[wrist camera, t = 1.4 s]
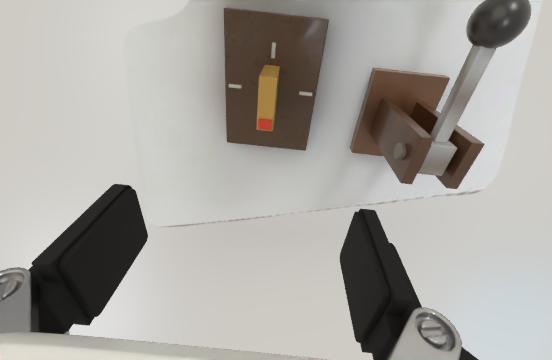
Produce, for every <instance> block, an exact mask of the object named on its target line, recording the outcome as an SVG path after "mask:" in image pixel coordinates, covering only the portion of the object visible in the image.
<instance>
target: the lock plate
mask: <svg viewBox="0 0 552 360" xmlns="http://www.w3.org/2000/svg"><path fill="white" fill-rule="evenodd" d="M328 21H329V20H328V19H322V18H313V17H304V16H295V15H286V14H277V13H268V12H258V11H249V10H240V9H231V8H224V36H225V81H226V126H227V142H230V143H239V144H249V145H258V146H268V147H277V148H286V149H296V150H306V146H307V140H308V134H309V129H310V123H311V117H312V112H313V106H314V100H315V95H316V89H317V83H318V78H319V72H320V66H321V61H322V55H323V49H324V44H325V38H326V33H327V27H328ZM265 65H273V66H280V72H279V82H278V93H277V104H276V114H275V120H274V126H273V131H263V130H257V129H256V128H257V108H258V88H259V76H260V74H261V72H262V70H263V68H264V66H265Z"/></svg>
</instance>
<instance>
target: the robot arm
mask: <svg viewBox="0 0 552 360" xmlns="http://www.w3.org/2000/svg"><path fill="white" fill-rule="evenodd" d="M147 238H148V234H147V230H146V227H145V223H144V219H143V216H142V212H141V208H140V205H139V201H138V198H137V194H136V191H135V190H134V189H132V187H131V186H129V185H121V184H114V185H112V186H111V187H110V188H109V189H108V190H107V191H106V192H105V193H104V194H103V195H102V196H101V197H100V198H99V199H98V200H96V201H95V202H94V203H93V204H92V205H91V206H90V207H89V208H88V209H87V210H86V211H85V212H84V213H83V214H82V215H81V216H80V217H79V218H78V219H77V220H76V221H75V222H74V223H73V224H72V225H70V226H69V227H68V228H67V229H66V230H65V231H64V232H63V233H62V234H61V235H60V236H59V237H58V238H57V239H56V240H55V241H54V242H53V243H52V244H51V245H50V246H49V247H47V249H46V250H44V251H43V252H42V253H41V254H40V255H39V256H38V257H37V258H36V259H35V260H34V261H33V262H32V265H33V266H32V267H31V268H30V269H29V270H27V269H25V268H19V267H18V268H9V269H6V270H2V271H0V360H324V359H317V358H308V357H298V356H288V355H279V354H268V353H259V352H249V351H238V350H229V349H219V348H208V347H198V346H188V345H178V344H167V343H157V342H146V341H134V340H123V339H113V338H103V337H92V336H79V335H69V329H70V328H71V326H72V325H73V324H79V325H90V323H91V322H92V320H93V319H94V317H97V316H98V315H100V313H101V312H102V311H103V309H104V308H105V306H106V304H107V302H108V301H109V300H110V298H111V296H112V295H113V293H114V292H115V290H116V289H117V287H118V286H119V284H120V282H121V281H122V279H123V278H124V276H125V274H126V273H127V271H128V270H129V268H130V267H131V265H132V263H133V262H134V260H135V258H136V257H137V256H138V254H139V252H140V251H141V249H142V248H143V246H144V245H145V243H146V241H147ZM340 263H341V269H342V274H343V279H344V284H345V289H346V294H347V299H348V305H349V310H350V315H351V320H352V324H353V330H354V335H355V339H356V341H357V342H359V343H361V348H362V352H367V353H372V354H373V359H374V360H478V359H477V358H475V357H474V356H473V355H472V354H470V353H469V352H468V351H466V350H465V349H464V348H463V347H462V342H461V339H460V335H459V333H458V332H457V330H456V328H455V327H454V325H453V324H452V323H451V322H450V321H449V320H448V319H447V318H446V317H444V316H443V315H442V314H440V313H438V312H437V311H435V310H433V309H429V308H422V306H421V304H420V302H419V300H418V298H417V295H416V293H415V291H414V289H413V286H412V284H411V282H410V280H409V277H408V275H407V273H406V270H405V268H404V266H403V264H402V262H401V259H400V257H399V255H398V253H397V250H396V248H395V247H394V245H393V244H392V243H389V242H388V239H387V237H386V234H385V232H384V230H383V228H382V225H381V223H380V221H379V218H378V216H377V213H376V212H375V210H368V209H360V210H359V212H355V213H354V216H353V219H352V221H351V224H350V227H349V230H348V233H347V236H346V239H345V242H344V245H343V247H342V250H341V253H340Z"/></svg>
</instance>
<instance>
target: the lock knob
mask: <svg viewBox="0 0 552 360" xmlns="http://www.w3.org/2000/svg"><path fill="white" fill-rule="evenodd" d="M279 72H280V66H273V65H265V66H264V68H263V70H262V72H261V74H260V76H259V88H258V108H257V128H256V129H257V130H263V131H273V126H274V120H275V114H276V104H277V93H278V82H279Z"/></svg>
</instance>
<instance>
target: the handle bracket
mask: <svg viewBox="0 0 552 360" xmlns="http://www.w3.org/2000/svg"><path fill="white" fill-rule="evenodd" d="M449 79H450V78H449V77H446V76H443V75H434V74H424V73H415V72H406V71H397V70H388V69H378V68H373V71H372V74H371V78H370V81H369V85H368V88H367V92H366V95H365V98H364V102H363V105H362V109H361V112H360V116H359V119H358V123H357V126H356V130H355V133H354V137H353V140H352V144H351V147H350V149H351V152H352V153H360V154H369V155H379V156H384V157H385V159H386V160H387V162H388V163H389V165H390V166H391V168H392V170H393V171H394V173H395V174H396V176H397V178H398V179H399V181H400V182H401V183H405V184H412V183H413V181H414V179H415V177H416V175H417V172H418V170H419V168H420V166H421V164H422V162H423V160H424V158H425V156H426V154H427V152H428V150H429V148H430V146H431V144H432V142H433V140H434V138H432V137H431V136H430V134H431V132H432V130H433V128H434V126H435V124H436V122H437V120H438V118H439V115H440V113H439V112H438V111H436V108H437V106H438V103H439V101H440V99H441V97H442V95H443V93H444V90H445V88H446V86H447V84H448V82H449ZM448 141H450V142H451V143H452V144H453V145H454V146H456V147H457V150H456V152H455V153H454V155H453V157H452V159H451V161H450V162H449V164H448V166H447V168H446V170H445V171H444V173H443V175H442V176H437V175H435V176H436V177H437V178H438V179H439V180H440V181H441V183H442V184H443V185H444V186H445V187H446V188H452V189H457V188H458V186H459V185H460V183H461V182H462V180H463V178H464V177H465V175H466V174H467V172H468V170H469V169H470V167H471V165H472V164H473V162H474V161H475V159H476V157H477V156H478V154H479V153H480V151H481V149H482V148H483V146H484V143H482V142H481V141H479V140H478V139H476V138H475V137H473V136H472V135H471V134H469V133H468V132H466V131H465V130H463V129H462V128H461V127H459V126H458V125H456V126H455V128H454V130H453V132H452V134H451V136H450V138H449V140H448Z"/></svg>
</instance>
